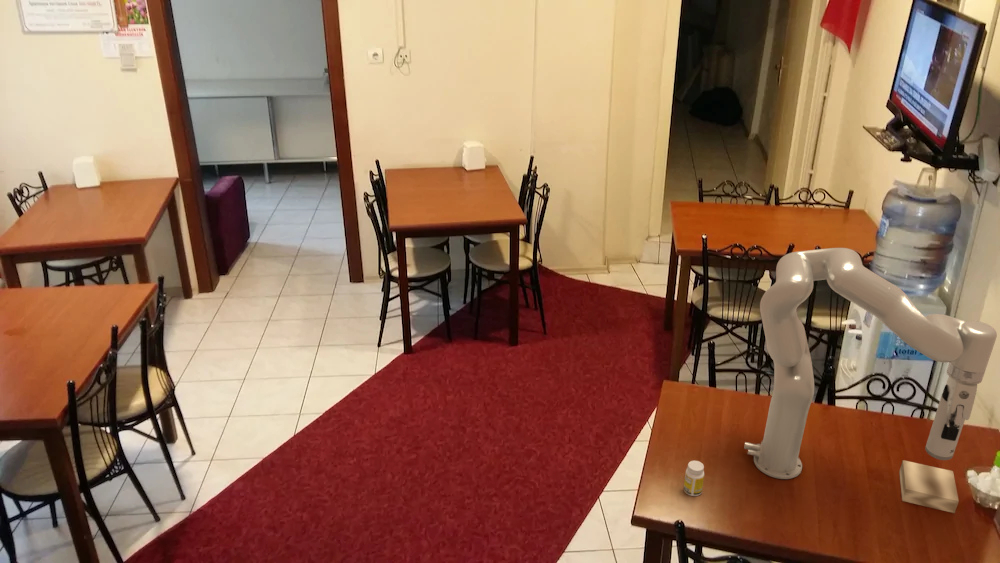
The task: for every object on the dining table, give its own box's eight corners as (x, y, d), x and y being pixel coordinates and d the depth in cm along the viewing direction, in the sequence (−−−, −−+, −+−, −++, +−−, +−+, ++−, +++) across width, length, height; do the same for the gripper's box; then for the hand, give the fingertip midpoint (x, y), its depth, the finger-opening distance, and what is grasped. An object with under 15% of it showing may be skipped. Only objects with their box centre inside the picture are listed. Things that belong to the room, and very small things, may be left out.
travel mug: (957, 462, 191) (979, 396, 182) (929, 459, 192) (949, 393, 183) (949, 446, 196) (970, 381, 187) (922, 443, 198) (941, 379, 188)
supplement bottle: (702, 486, 202) (706, 461, 198) (700, 498, 198) (704, 473, 194) (684, 482, 204) (687, 457, 200) (682, 494, 200) (685, 469, 196)
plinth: (902, 500, 197) (905, 488, 195) (899, 471, 207) (902, 460, 205) (954, 513, 193) (958, 501, 191) (949, 482, 203) (953, 471, 201)
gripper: (989, 393, 175) (968, 455, 183) (978, 355, 189) (958, 414, 197) (952, 386, 177) (933, 448, 185) (944, 349, 191) (926, 408, 199)
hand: (946, 430), depth 191 cm, fingers closed on travel mug, 6 cm apart
